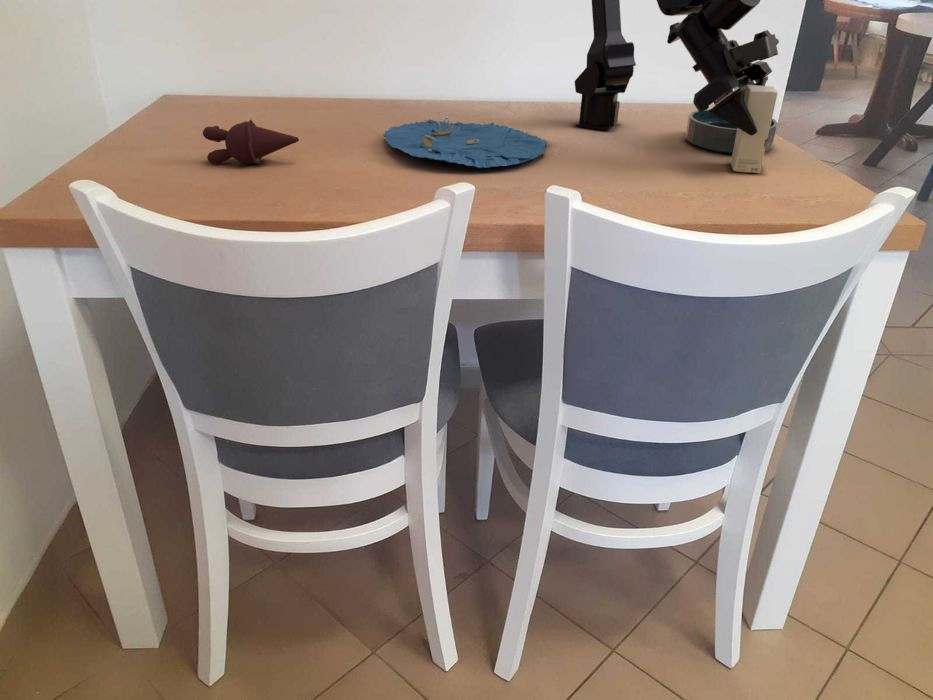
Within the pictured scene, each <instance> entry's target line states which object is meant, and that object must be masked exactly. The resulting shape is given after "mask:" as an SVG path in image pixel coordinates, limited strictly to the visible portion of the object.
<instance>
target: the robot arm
mask: <svg viewBox="0 0 933 700" xmlns="http://www.w3.org/2000/svg"><path fill="white" fill-rule="evenodd" d="M620 2H621V1H620V0H591V13H592V27H593V28H592V29H593V40H592V42H591V44H590V46H589V49H588V51H587V53H586V68H584V69H583V70H582V72H581V73H580V74H579V75H578V77H576V78H575V80H574V89H575V93H576V94H580V95H581V101H580V110H579V111H580V112H579V119H578V120H579V121H578V122H576V123H575V126H576V127H579V128H587V129H593V130H601V131H610V130H611V129H612V128H613V127H615V126H616V125H617V124H618V121H619V120H618V119H619V112H620V111H619V110H620V105H621V103H620V101H618V97H619V94H624V93H625V92H626V90H627V88H628V86H629V83H630V80H631V78H632V77H633V76H634V71H635V68H634V67H636V66H637V63H636V61H635V45H634V42H632V41H630V42H627V40H626V39H625V37H624V36H623V33H622V20H621V19H622V18H621V3H620ZM760 2H761V0H656V3H657V6H658V9H659V11H660V12H661V13H662V14H663V15H664V16H668V17H675V16H678V17H679V16H686V17H685V18H683V20H682V21H680V22H679V21H678V22H675V23H673V24H670V25H669V32H668V35H667V40H666V43H667V44H669V45H670V44H673V43H675V42H677V41H679V40H680V41H681V43H682V44H683V46H684V47H685V49H686V51H687V52H688V54H689V55H690V57H691V58H692V60H693V62H694V63H695V64H694V65H692V69H693V71H694V72H695V73H697V72H701V74H702V76H703V77H704V79H705V80H706V82H707V84H705V85H704V86H703V87H702V88H701V89H699V90H698V91H697V92H695V93H694V95H693V100H692V103H693V105H694V106H695V108H696V111H699V113H700V112H702V111H705V110H706V109H710V110H709V111H708V112H709V113H710V114H711V113H712V114H714V115H716V116H718V117H720V118H722V119H723V120H725V121H727V122H729V123H731V124H732V125H734V126H736V127H737V128H739V129H741V130H742V131H744V132H746V133H747V134H749V135H751V136H752V135H754V134H756V133H757V128H756V126H755V123H754V121H753V119H752V117H751V115H750V112H749V110H748V108H747V106H746V104H745V102H744V96H745V90H746V86H747V85H757V86H766V83H767V81H768V80H769V75H770V74H772V73H773V70H772V69H771V67H770V65H769V64H768V62H767V61H764V60H767V59H770V58H773V57H775V56H778V55H779V52H778V45H779V42H780V41H779V38H777V37H776V34H775V33H773V34H772V33H771V32H770V31H769V30H768V29H765V30H763V31H761V32H757V33H755V34H754V37H753V40H752V41H750V42H746V43H743V44H739V43H738V41H737V40H734V39H731V40H729V39H728V38H727V36H726V34H725V33H724V32H723V30H724V31H729V30H731V29H732V28H734V27H735V26H736V25H737V24H738V23H739V22H740V21H742V20H743V18H744V17H746V16H747V15H748V14H749V13H750V12H751V11H753V10H754V8H756V7H757V6H758V5H759V4H760ZM713 104H714V106H712V108H710V105H713Z"/></svg>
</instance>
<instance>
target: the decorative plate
mask: <svg viewBox="0 0 933 700" xmlns="http://www.w3.org/2000/svg"><path fill="white" fill-rule="evenodd" d="M449 119H450V117H449V116H446V117H444V119H443V121H439V120H434V119H428V120H425V119H424V121H416V122H410V123H404V124H402V125H397V126H392V127H390V128H389V129H388V130H385V131H384V133H383V134H382V138H383V139H384V138H385V141H386V142H387V144H388V145H389V146H390V147H391V148H393V149H399V150H400V151H402V152H403V153H406V154H409V155H410V156H411V157H417V158H421V159H423V158H427V159H428V161H433V160H436V161H445V162H446V163H455V164H458V165H465V166H467V167H475V168H478V169H483V168H485V169H487V168H488V169H489V168H491V167H501V166H502V167H507V166H508V167H509V166H511V165H515V166H517V165H519V164H524V163H525V162H529V161H531V160H535V159H536V158H538V157H540V155H543V154H544V153H545V152H546V147H545V146H546V145H547V143H548V141H547V140H546V139H543V138H541V137H538V136H537V135H532V134H529V132H527V131H526V132H524V131H523V130H520V129H514V128H513V127H509V126H507V125H499V124H495V123H494V122H490V123H489V122H488V123H484V124H481V123H474V122H469V123H463V122H458V121H457V122H455V123H453V122H450V120H449Z"/></svg>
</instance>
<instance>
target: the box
mask: <svg viewBox="0 0 933 700" xmlns="http://www.w3.org/2000/svg"><path fill="white" fill-rule="evenodd" d="M778 94H779V92H778V91H777V89H776V88H775V87H774V86H770V85H765V86H757V85H747V86H746V90H745V96H744V102H745V104H746V106H747V108H748V110H749V112H750V115H751V117H752V119H753V121H754V123H755V126H756V128H757V133H756V134H754V135H752V136H751V135H749V134H747V133H746V132H744V131H742V130H741V129H739V128H737V133H736V138H735V144H734V149H733V153H731V154H732V155H731V159H730V166H731V168H732V171H733V172H736V173H737V172H739V173H751V174H759V173H761V171H762V168H763V167H762V166H763V161H764V156H765V153H766V151H765V148H766V143H767V139H768V134H769V130H770V125H771V121H772V119H773V116H774V112H775V107H776V103H777V97H778Z"/></svg>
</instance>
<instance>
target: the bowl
mask: <svg viewBox="0 0 933 700" xmlns="http://www.w3.org/2000/svg"><path fill="white" fill-rule="evenodd" d="M710 109H711V108H708V109H706V110H705V111H702V112H700V113H699V111H698V110H695V111H692V112H690V113H689V114H688V118H687V124H686V129H685V134H684V137H685V139H686V141H688V142H690V144H692V145H695V146H697V147H699V148H702V149H705V150H708V151H712V152H717V153H723V154H724V153H725V154H733V149H734V144H735V138H736V133H737V127H736V126H734V125H732V124H731V123H729V122H727V121H725V120H723V119H722V118H720V117H718V116H716V115H714V114H712V113H711V114H710V113H709V112H708V111H709V110H710ZM778 125H779V123H778V121H777V120H776V119H775V118H772V121H771V125H770V130H769V134H768V139H767V143H766V148H765V152H766V151H768V150H771V149H772V147H773V145H774V142H775V138H776V134H777V129H778V127H779V126H778Z"/></svg>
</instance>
